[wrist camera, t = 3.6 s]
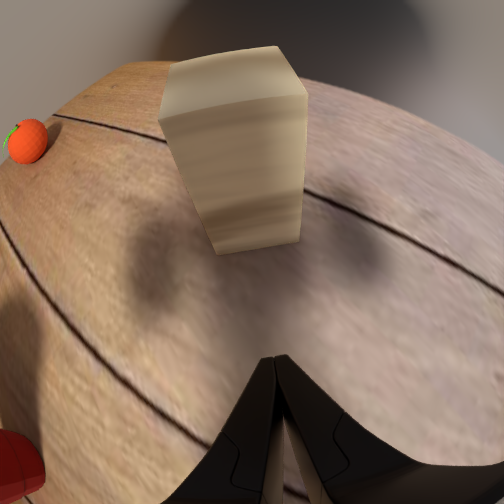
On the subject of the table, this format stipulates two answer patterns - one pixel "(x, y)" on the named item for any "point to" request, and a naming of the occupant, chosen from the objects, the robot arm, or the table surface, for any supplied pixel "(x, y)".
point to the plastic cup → (18, 467)
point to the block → (239, 145)
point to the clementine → (27, 141)
